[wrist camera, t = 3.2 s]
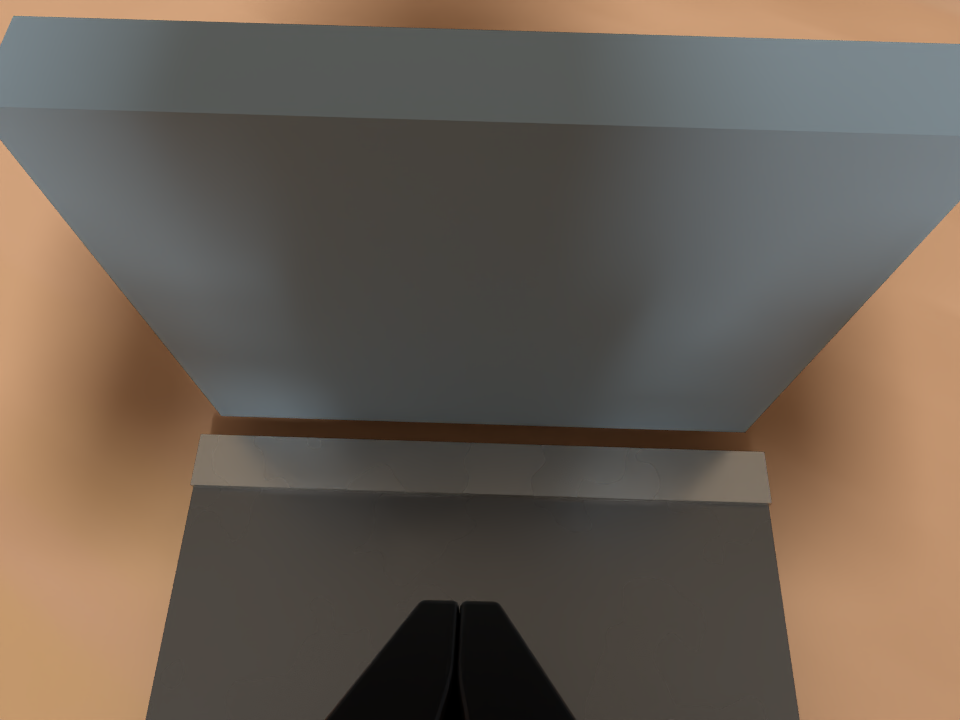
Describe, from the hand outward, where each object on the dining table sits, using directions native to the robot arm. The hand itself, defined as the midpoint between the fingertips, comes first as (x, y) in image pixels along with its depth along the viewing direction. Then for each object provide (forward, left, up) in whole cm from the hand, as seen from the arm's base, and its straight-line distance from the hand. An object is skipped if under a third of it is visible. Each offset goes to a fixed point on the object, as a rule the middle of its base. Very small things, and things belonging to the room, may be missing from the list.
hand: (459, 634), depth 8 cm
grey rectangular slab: (+6, 0, -7) cm, 10 cm away
